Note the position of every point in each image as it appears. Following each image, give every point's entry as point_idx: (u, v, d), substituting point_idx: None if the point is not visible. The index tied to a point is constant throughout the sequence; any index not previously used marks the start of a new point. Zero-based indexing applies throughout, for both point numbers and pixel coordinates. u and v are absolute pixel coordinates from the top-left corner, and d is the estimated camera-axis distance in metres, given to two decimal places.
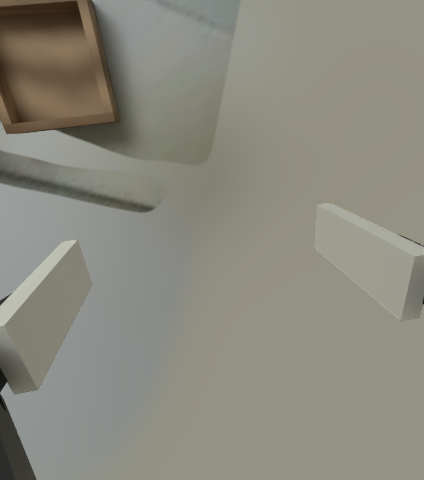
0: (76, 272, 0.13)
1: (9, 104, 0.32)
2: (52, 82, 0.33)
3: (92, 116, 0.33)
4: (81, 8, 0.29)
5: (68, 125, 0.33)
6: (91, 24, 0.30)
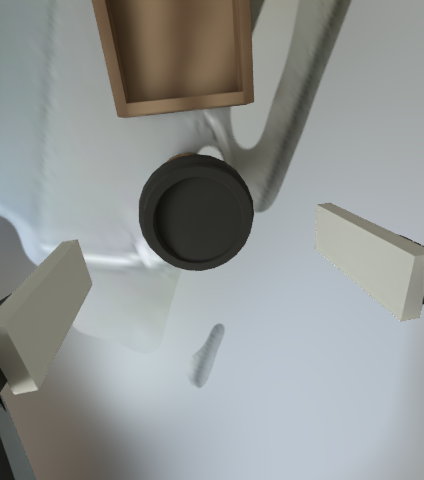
0: (76, 272, 0.13)
1: None
2: (190, 37, 0.25)
3: None
4: None
5: (249, 7, 0.23)
6: None
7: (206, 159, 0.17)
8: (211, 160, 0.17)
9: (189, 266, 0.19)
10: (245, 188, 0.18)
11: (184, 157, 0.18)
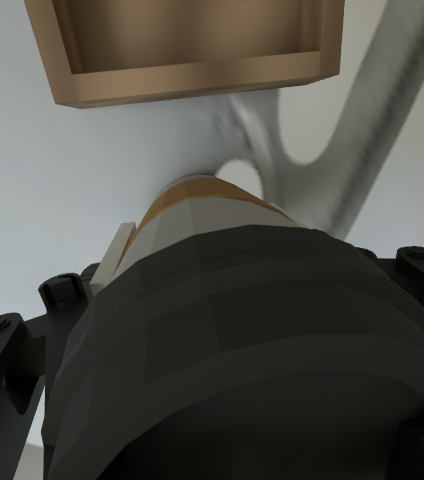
0: None
1: None
2: None
3: None
4: None
5: None
6: None
7: (316, 263, 0.04)
8: (335, 265, 0.04)
9: None
10: None
11: (216, 242, 0.05)
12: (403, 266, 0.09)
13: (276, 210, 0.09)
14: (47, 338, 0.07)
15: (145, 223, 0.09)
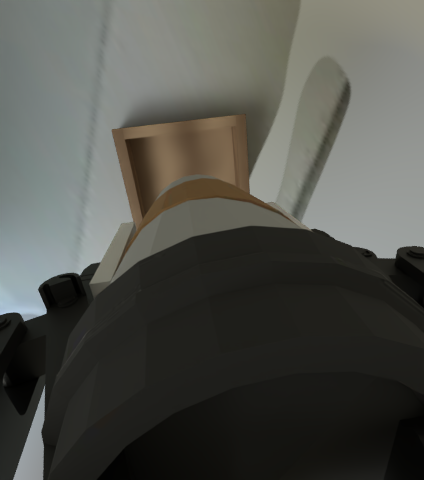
0: None
1: None
2: None
3: (239, 142, 0.27)
4: (131, 135, 0.26)
5: (247, 172, 0.29)
6: (145, 126, 0.26)
7: (315, 264, 0.04)
8: (335, 267, 0.04)
9: None
10: None
11: (216, 243, 0.05)
12: (403, 266, 0.09)
13: (276, 211, 0.09)
14: (47, 338, 0.07)
15: (145, 224, 0.09)
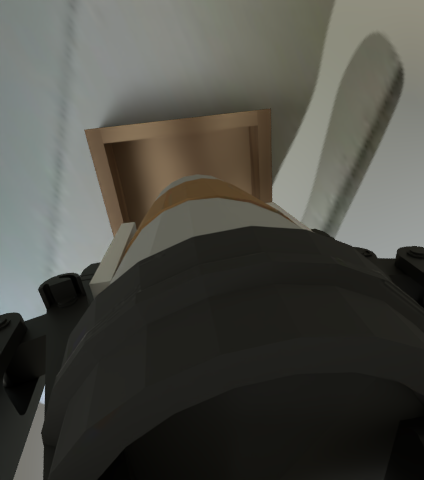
0: None
1: None
2: None
3: (260, 147, 0.20)
4: (112, 138, 0.18)
5: (270, 187, 0.21)
6: (131, 125, 0.18)
7: (315, 264, 0.04)
8: (335, 267, 0.04)
9: None
10: None
11: (216, 244, 0.05)
12: (403, 266, 0.09)
13: (276, 211, 0.09)
14: (47, 338, 0.07)
15: (145, 224, 0.09)
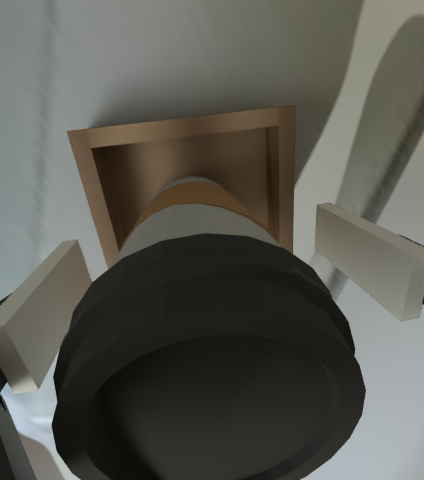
0: (76, 272, 0.13)
1: None
2: None
3: (282, 151, 0.17)
4: (102, 141, 0.15)
5: (292, 199, 0.18)
6: (125, 126, 0.15)
7: (242, 263, 0.06)
8: (256, 265, 0.06)
9: None
10: (342, 327, 0.07)
11: (177, 246, 0.06)
12: None
13: (245, 215, 0.10)
14: None
15: (138, 224, 0.11)
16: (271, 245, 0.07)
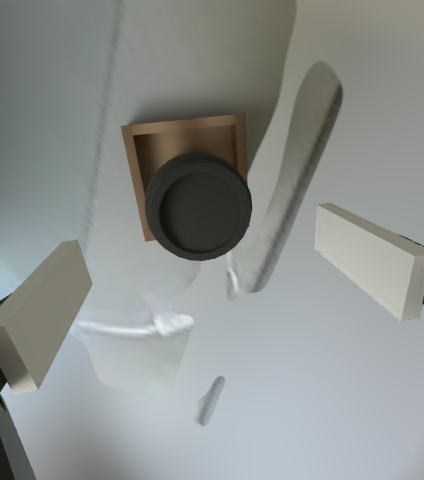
0: (76, 272, 0.13)
1: None
2: None
3: (238, 139, 0.29)
4: (138, 132, 0.28)
5: (245, 167, 0.31)
6: (151, 123, 0.28)
7: (208, 156, 0.19)
8: (213, 157, 0.19)
9: (192, 256, 0.20)
10: (244, 183, 0.20)
11: (187, 154, 0.19)
12: None
13: None
14: None
15: None
16: (219, 157, 0.20)
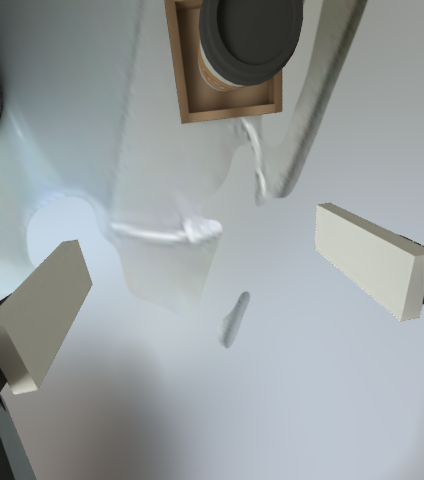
0: (76, 272, 0.13)
1: None
2: None
3: None
4: None
5: None
6: None
7: None
8: None
9: (245, 68, 0.21)
10: None
11: None
12: None
13: None
14: None
15: None
16: None
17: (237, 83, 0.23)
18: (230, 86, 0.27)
